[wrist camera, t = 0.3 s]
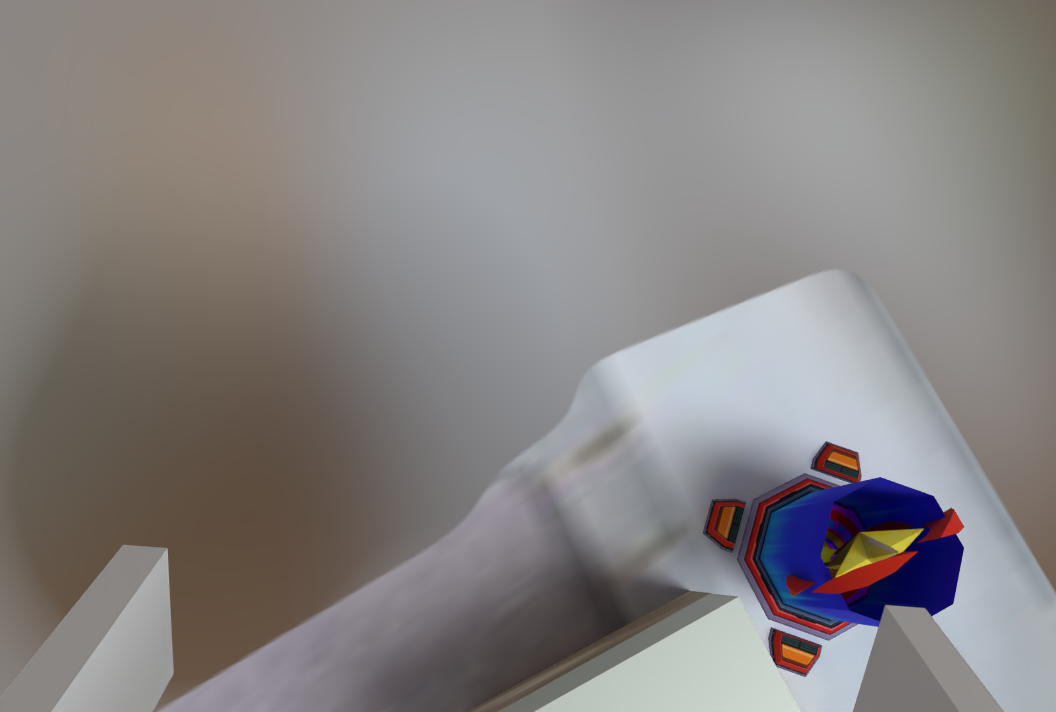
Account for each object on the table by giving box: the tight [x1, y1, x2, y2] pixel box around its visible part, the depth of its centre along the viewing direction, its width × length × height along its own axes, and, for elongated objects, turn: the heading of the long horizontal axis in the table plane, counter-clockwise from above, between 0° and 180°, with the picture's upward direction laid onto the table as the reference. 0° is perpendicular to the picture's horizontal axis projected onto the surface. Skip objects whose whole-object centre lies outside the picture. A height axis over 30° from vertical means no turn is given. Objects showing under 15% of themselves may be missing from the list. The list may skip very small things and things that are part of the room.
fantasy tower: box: [703, 442, 964, 677], centre depth 45 cm, size 12×12×12 cm
